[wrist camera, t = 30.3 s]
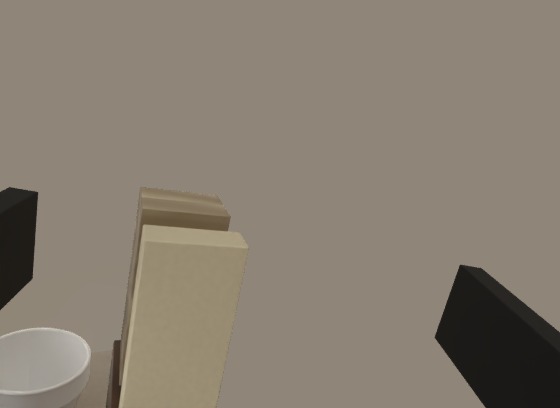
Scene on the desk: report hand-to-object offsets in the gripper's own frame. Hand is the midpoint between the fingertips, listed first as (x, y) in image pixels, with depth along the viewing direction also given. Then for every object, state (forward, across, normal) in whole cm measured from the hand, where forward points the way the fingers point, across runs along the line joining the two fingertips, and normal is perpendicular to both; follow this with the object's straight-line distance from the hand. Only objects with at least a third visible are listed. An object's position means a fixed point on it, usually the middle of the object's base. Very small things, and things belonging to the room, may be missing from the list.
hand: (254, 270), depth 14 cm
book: (+12, -2, -18) cm, 22 cm away
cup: (+33, -19, -44) cm, 59 cm away
